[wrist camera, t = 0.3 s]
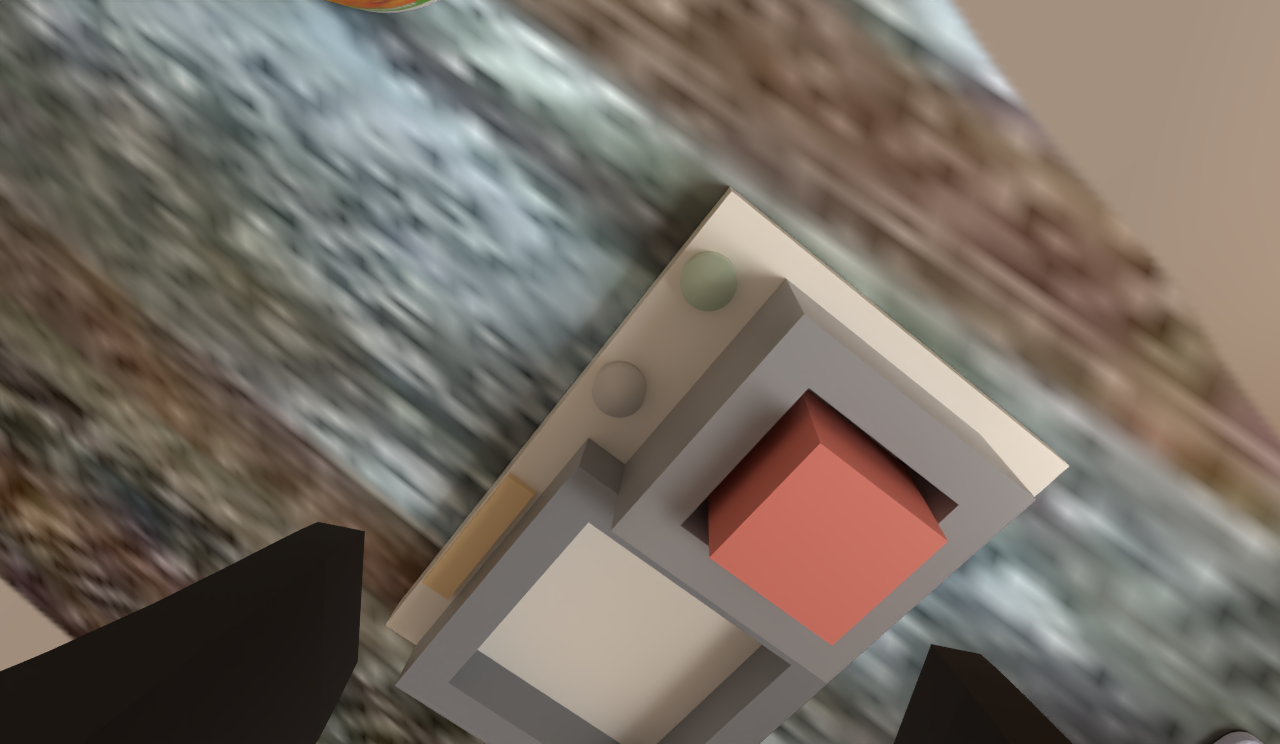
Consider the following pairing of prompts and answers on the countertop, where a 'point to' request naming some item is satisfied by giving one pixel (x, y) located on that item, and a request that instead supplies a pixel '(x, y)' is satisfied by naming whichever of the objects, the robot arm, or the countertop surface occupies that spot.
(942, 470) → the panel
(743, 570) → the plunger
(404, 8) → the supplement bottle
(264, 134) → the countertop surface
